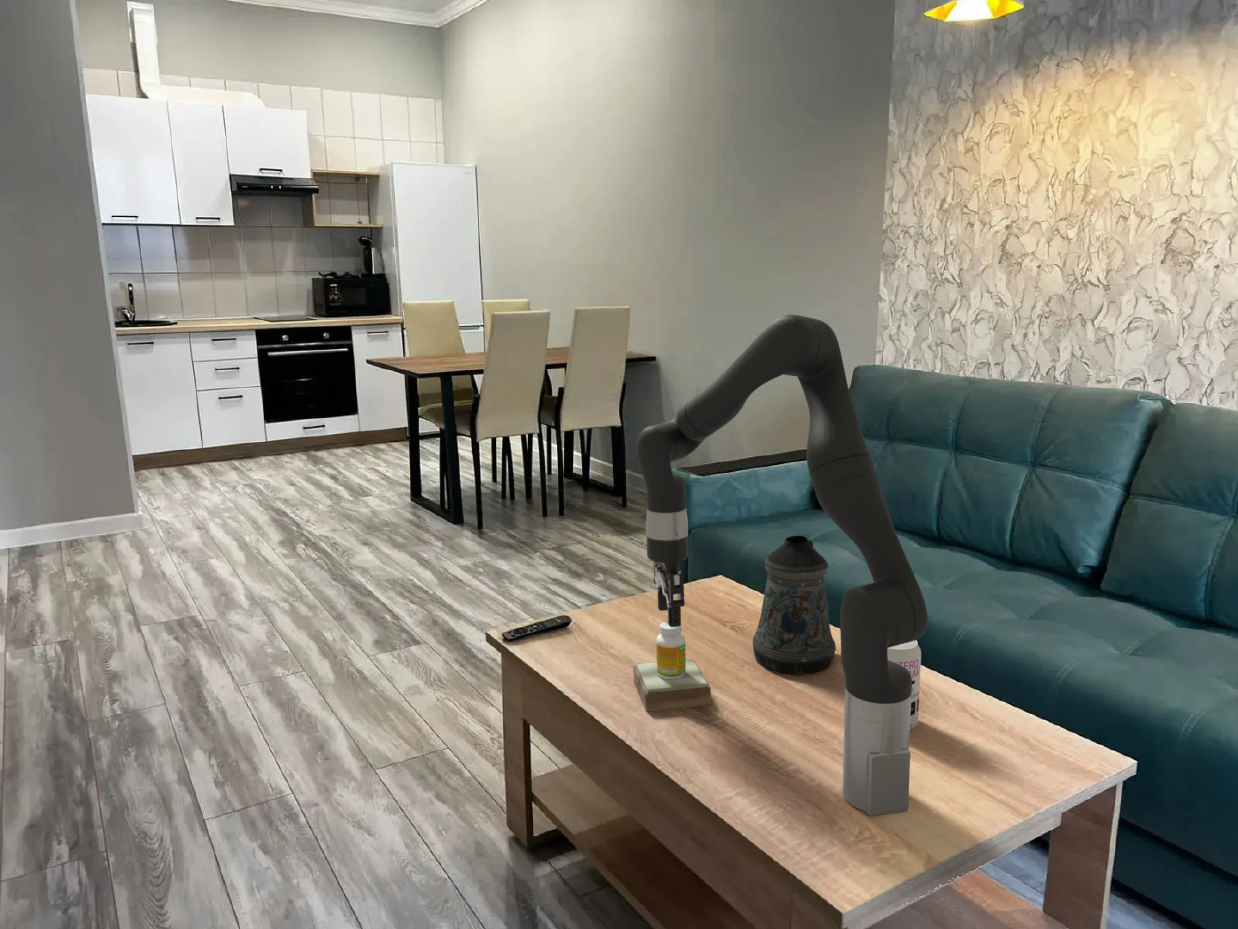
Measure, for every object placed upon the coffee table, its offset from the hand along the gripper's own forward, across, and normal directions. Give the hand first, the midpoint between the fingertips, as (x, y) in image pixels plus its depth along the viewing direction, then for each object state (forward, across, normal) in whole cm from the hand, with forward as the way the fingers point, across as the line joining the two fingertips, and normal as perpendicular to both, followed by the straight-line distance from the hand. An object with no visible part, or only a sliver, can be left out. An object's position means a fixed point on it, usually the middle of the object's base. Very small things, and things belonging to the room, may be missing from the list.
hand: (669, 617), depth 162 cm
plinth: (+15, 0, 0) cm, 15 cm away
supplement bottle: (+11, 0, 0) cm, 11 cm away
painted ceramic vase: (+15, +11, -28) cm, 34 cm away
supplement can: (+16, -19, -35) cm, 43 cm away
